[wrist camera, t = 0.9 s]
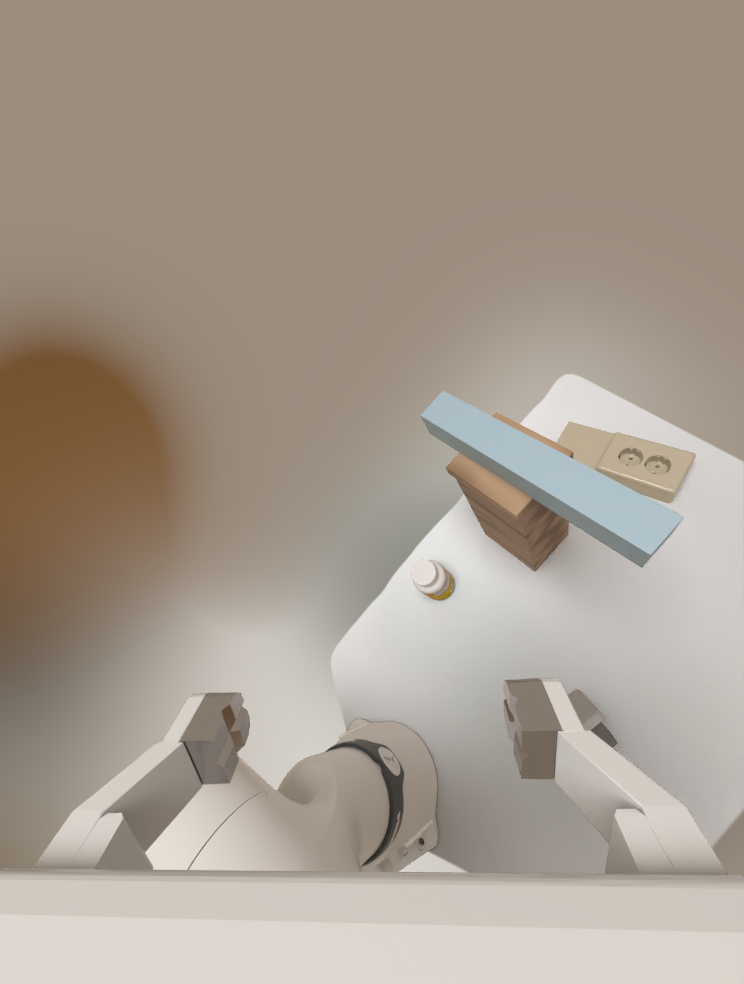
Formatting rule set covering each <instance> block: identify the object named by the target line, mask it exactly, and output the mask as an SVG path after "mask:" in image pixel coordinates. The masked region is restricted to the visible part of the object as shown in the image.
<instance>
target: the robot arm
mask: <svg viewBox="0 0 744 984" xmlns="http://www.w3.org/2000/svg"><path fill="white" fill-rule="evenodd" d="M504 693H505V696H506V699H505V700H504V714H505V721H506V725H507V729H508V733H509V737H510V738H511V739H512V740H513V741H514V754H515V758H516V761H517V764H518V768H519V771H520V774H521V778H522V779H555V782H556V783H557V784H558V785H559V787H560V788H561V789H562V790H563V791H564V792H565V793H566V795H567V796H568V797H569V798H570V799H571V800H572V801H573V803H574V804H575V805H576V806H577V807H578V808H579V809H580V811H581V812H582V813H583V814H584V815H585V816H586V817H587V819H588V820H589V821H590V822H591V823H592V824H593V825H594V827H595V828H596V829H597V830H598V831H599V832H600V833H601V835H602V836H603V837H604V838H605V839H606V840H607V841H608V843H609V844H610V845H609V852H608V858H607V864H606V870H605V874H542V873H437V872H433V873H431V872H430V873H429V872H398V871H399V870H401V869H403V868H404V867H405V866H407V865H408V864H410V863H411V862H413V861H414V860H416V859H417V858H419V857H420V856H422V855H423V854H424V853H426V852H427V851H429V850H430V849H432V848H433V847H435V846H436V844H437V842H438V827H437V822H436V816H435V808H436V801H437V789H438V787H437V775H436V770H435V766H434V763H433V760H432V757H431V755H430V753H429V751H428V749H427V747H426V745H425V744H424V742H423V741H422V740H421V739H420V737H419V736H418V735H417V734H416V733H415V732H414V731H412V730H411V729H410V728H408V727H406V726H404V725H402V724H400V723H397V722H391V721H385V722H378V723H372V722H369V721H366V720H363V719H356V720H354V721H353V722H352V723H351V725H350V726H349V728H348V730H347V731H346V733H343V734H342V735H341V736H340V737H339V739H340V740H339V741H338V743H337V744H336V745H334V746H333V747H331V748H330V749H328V750H327V751H326V752H324V753H320V754H317V755H314V756H310V757H307V758H305V759H303V760H301V761H300V762H298V763H297V764H296V765H295V766H294V767H293V768H292V769H291V770H290V771H289V772H288V774H287V775H286V776H285V778H284V779H283V781H282V783H281V784H280V786H279V788H278V790H274V789H273V788H272V787H271V786H270V785H269V784H268V783H267V782H266V781H265V780H263V779H262V778H261V777H260V776H259V775H258V774H257V773H256V772H255V771H254V770H253V769H251V767H249V766H248V765H247V764H246V763H245V762H244V761H243V760H242V759H241V758H240V757H239V756H238V754H237V752H238V751H239V750H240V749H241V748H242V747H243V746H244V745H245V743H246V740H247V737H248V734H249V728H250V718H249V714H248V711H247V710H246V709H244V708H243V707H242V704H243V701H244V699H243V697H242V694H241V693H197V694H195V693H194V694H193V695H192V696H190V697H189V698H188V700H187V702H186V704H185V705H184V707H183V708H182V710H181V712H180V713H179V715H178V717H177V718H176V720H175V722H174V723H173V725H172V727H171V729H170V730H169V732H168V734H167V735H166V737H165V738H163V739H162V740H160V741H158V742H156V743H155V744H154V745H152V746H150V747H149V748H148V749H146V750H145V751H144V752H143V753H142V754H140V755H139V757H137V758H136V759H135V760H134V761H133V762H132V763H131V764H130V766H128V767H127V768H126V769H125V770H124V771H122V772H121V773H120V774H119V775H117V776H116V777H115V778H114V779H113V780H111V781H110V782H109V783H107V784H106V785H105V786H104V787H103V788H101V789H100V790H99V791H98V792H96V793H95V794H94V795H92V796H91V797H90V798H89V799H88V800H86V801H85V802H84V803H83V804H81V805H80V806H79V807H78V808H76V809H75V810H74V811H73V812H72V813H71V815H70V816H69V818H68V819H67V820H66V822H65V823H64V825H63V826H62V828H61V829H60V830H59V832H58V833H57V835H56V836H55V837H54V839H53V840H52V842H51V843H50V845H49V846H48V848H47V849H46V850H45V852H44V853H43V855H42V856H41V857H40V859H39V860H38V862H37V863H36V865H35V866H34V867H33V868H24V869H23V868H0V984H744V875H728V874H727V872H726V871H725V869H724V867H723V866H722V864H721V863H720V861H719V859H718V858H717V856H716V855H715V853H714V851H713V850H712V848H711V847H710V845H709V843H708V842H707V840H706V839H705V837H704V835H703V834H702V832H701V831H700V829H699V827H698V826H697V824H696V823H695V821H694V819H693V818H692V816H691V815H690V813H689V811H688V810H687V808H686V807H685V806H684V805H683V804H681V803H680V802H679V801H678V800H676V799H675V798H674V797H673V796H671V795H670V794H669V793H668V792H666V791H665V790H664V789H663V788H661V787H660V786H659V785H658V784H656V783H655V782H654V781H653V780H652V779H650V778H649V777H648V776H647V775H645V774H644V773H643V772H642V771H640V770H639V769H638V768H637V767H635V766H634V765H633V764H632V763H630V762H629V761H628V760H627V759H625V758H624V757H623V756H622V755H620V754H619V753H618V752H617V751H615V750H614V749H613V748H612V747H610V746H609V745H608V744H607V743H605V742H604V741H603V740H602V739H600V738H599V737H598V736H597V735H596V734H594V733H593V732H592V731H585V730H584V728H583V726H582V724H581V722H580V720H579V718H578V716H577V714H576V711H575V709H574V707H573V705H572V703H571V701H570V699H569V697H568V695H567V693H566V691H565V689H564V687H563V685H562V683H561V681H560V680H559V679H558V678H541V679H538V678H536V679H518V680H504ZM420 838H423V840H424V844H422V843H421V842H420Z"/></svg>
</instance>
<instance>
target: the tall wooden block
mask: <svg viewBox="0 0 744 984" xmlns="http://www.w3.org/2000/svg"><path fill="white" fill-rule="evenodd" d="M492 417H494V418H496V419H498V420H500V421H502V422H504V423H506V424H508V425H509V426H511V427H513V428H515V429H517V430H519V431H521V432H523V433H525V434H527V435H529V436H530V437H532V438H534V439H536V440H538V441H540V442H542V443H544V444H546V445H548V446H550V447H551V448H553V449H555V450H557V451H559V452H561V453H563V454H565V455H567V456H569V457H571V458H573V453H574V452H573V451H571V450H569V449H567V448H565V447H563V446H561V445H559V444H557V443H555V442H553V441H551V440H549V439H547V438H545V437H543V436H541V435H540V434H538V433H536V432H534V431H532V430H530V429H528V428H526V427H524V426H522V425H520V424H518V423H516V422H514V421H512V420H510V419H508V418H506V417H504V416H502V415H500V414H498V413H495V414H494V415H493V416H492ZM446 469H447V471H448V473H449V474H450V475H452V476H453V477H455V478H456V480H457V481H458V483H459V485H460V487H461V489H462V491H463V492H464V494H465V496H466V498H467V500H468V502H469V504H470V506H471V508H472V509H473V511H474V513H475V515H476V517H477V519H478V521H479V522H480V524H481V526H482V528H483V530H484V532H485V534H486V535H488V536H489V537H490V538H492V539H493V540H494V541H496V542H497V543H498V544H500V545H501V546H502V547H503V548H505V549H506V550H507V551H509V552H510V553H511V554H513V555H514V556H515V557H517V558H518V559H519V560H521V561H522V562H523V563H524V564H526V565H527V566H528V567H530V568H531V569H532V570H534V571H536V570H537V569H538V568H539V567H540V566H541V564H542V563H543V562H544V561H545V560H546V559H547V558H548V556H549V555H550V554H551V553H552V552H553V551H554V550H555V549H556V547H557V546H558V545H559V544H560V543H561V542H562V541H563V540H564V538H565V537H566V536H567V535H568V521H567V520H566V519H564V518H563V517H561V516H559V515H558V514H556V513H555V512H553V511H552V510H550V509H548V508H547V507H545V506H544V505H542V504H541V503H539V502H537V501H536V500H534V499H533V498H531V497H529V496H528V495H526V494H525V493H523V492H522V491H520V490H518V489H517V488H515V487H514V486H512V485H511V484H509V483H507V482H506V481H504V480H503V479H501V478H499V477H498V476H496V475H495V474H493V473H492V472H490V471H488V470H487V469H485V468H484V467H482V466H480V465H479V464H477V463H476V462H474V461H473V460H471V459H469V458H468V457H466V456H465V455H463V454H462V453H459V454H458V455H457V456H456V457H455V458H454V459H453V460H452V462H451V463H450V464H449V465H448V466H447V467H446Z"/></svg>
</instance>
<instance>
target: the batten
mask: <svg viewBox="0 0 744 984" xmlns="http://www.w3.org/2000/svg"><path fill="white" fill-rule="evenodd" d="M421 417H422V419H423V421H424V423H425V425H426V427H427V429H428V430H429V432H430V434H432V435H433V436H435V437H436V438H438V439H439V440H441V441H443V442H444V443H446V444H447V445H449V446H450V447H452V448H454V449H455V450H457V451H459V452H460V453H462V454H463V455H465V456H466V457H468V458H469V459H471V460H473V461H474V462H476V463H477V464H479V465H480V466H482V467H484V468H485V469H487V470H488V471H490V472H492V473H493V474H495V475H496V476H498V477H499V478H501V479H503V480H504V481H506V482H507V483H509V484H511V485H512V486H514V487H515V488H517V489H518V490H520V491H522V492H523V493H525V494H526V495H528V496H529V497H531V498H533V499H534V500H536V501H537V502H539V503H541V504H542V505H544V506H545V507H547V508H548V509H550V510H552V511H553V512H555V513H556V514H558V515H559V516H561V517H563V518H564V519H566V520H567V521H569V522H571V523H572V524H574V525H575V526H577V527H578V528H580V529H582V530H583V531H585V532H586V533H588V534H590V535H591V536H593V537H594V538H596V539H597V540H599V541H601V542H602V543H604V544H605V545H607V546H608V547H610V548H612V549H613V550H615V551H616V552H618V553H620V554H621V555H623V556H624V557H626V558H627V559H629V560H631V561H632V562H634V563H635V564H637V565H638V566H640V567H643V566H644V565H645V564H646V563H647V561H648V560H649V559H650V558H651V557H652V556H653V555H654V553H655V552H656V551H657V550H658V549H659V548H660V547H661V545H662V544H663V543H664V542H665V541H666V540H667V539H668V537H669V536H670V535H671V534H672V533H673V531H674V530H675V529H676V527H677V526H678V525H679V523H680V522H681V521H682V519H683V518H684V517H683V516H681V515H680V514H678V513H676V512H674V511H672V510H670V509H668V508H666V507H664V506H662V505H660V504H659V503H657V502H655V501H653V500H651V499H649V498H647V497H645V496H643V495H641V494H639V493H638V492H636V491H634V490H632V489H630V488H628V487H626V486H624V485H622V484H620V483H618V482H616V481H615V480H613V479H611V478H609V477H607V476H605V475H603V474H601V473H599V472H597V471H595V470H594V469H592V468H590V467H588V466H586V465H584V464H582V463H580V462H578V461H576V460H574V459H573V458H571V457H569V456H567V455H565V454H563V453H561V452H559V451H557V450H555V449H553V448H551V447H550V446H548V445H546V444H544V443H542V442H540V441H538V440H536V439H534V438H532V437H530V436H529V435H527V434H525V433H523V432H521V431H519V430H517V429H515V428H513V427H511V426H509V425H508V424H506V423H504V422H502V421H500V420H498V419H496V418H494V417H492V416H490V415H488V414H486V413H484V412H483V411H481V410H479V409H477V408H475V407H473V406H471V405H469V404H467V403H465V402H463V401H462V400H460V399H457V398H456V397H454V396H452V395H450V394H448V393H446V392H444V391H442V392H441V394H440V395H439V396H438V397H437V398H436V399H435V400H434V401H433V402H432V404H431V405H430V406H429V407H428V408H427V409H426V410H425V411H424V412H423V413H422V415H421Z"/></svg>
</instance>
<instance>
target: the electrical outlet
mask: <svg viewBox="0 0 744 984" xmlns="http://www.w3.org/2000/svg"><path fill="white" fill-rule="evenodd" d="M557 444H559V445H561V446H563V447H565V448H567V449H569V450H571V451H573V452H574V453H573V459H574V460H576V461H578V462H580V463H582V464H584V465H586V466H588V467H590V468H592V469H594V470H595V471H597V472H599V473H601V474H603V475H605V476H607V477H609V478H611V479H613V480H615V481H616V482H618V483H620V484H622V485H624V486H626V487H628V488H630V489H632V490H634V491H636V492H638V493H639V494H642V495H645V496H648V497H651V498H654V499H657V500H660V501H662V502H665V503H671V501H672V500H673V498H674V496H675V495H676V493H677V491H678V489H679V487H680V485H681V483H682V482H683V480H684V478H685V476H686V474H687V472H688V470H689V468H690V466H691V464H692V463H693V461H694V459H695V457H696V455H695V453H692V452H688V451H684V450H680V449H677V448H673V447H669V446H666V445H662V444H658V443H654V442H651V441H647V440H643V439H640V438H636V437H632V436H628V435H625V434H621V433H615V434H613V433H609V432H606V431H602V430H598V429H595V428H591V427H587V426H584V425H580V424H576V423H573V422H569V423H568V424H567V426H566V428H565V429H564V431H563V433H562V434H561V436H560V438H559V440H558V441H557Z"/></svg>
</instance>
